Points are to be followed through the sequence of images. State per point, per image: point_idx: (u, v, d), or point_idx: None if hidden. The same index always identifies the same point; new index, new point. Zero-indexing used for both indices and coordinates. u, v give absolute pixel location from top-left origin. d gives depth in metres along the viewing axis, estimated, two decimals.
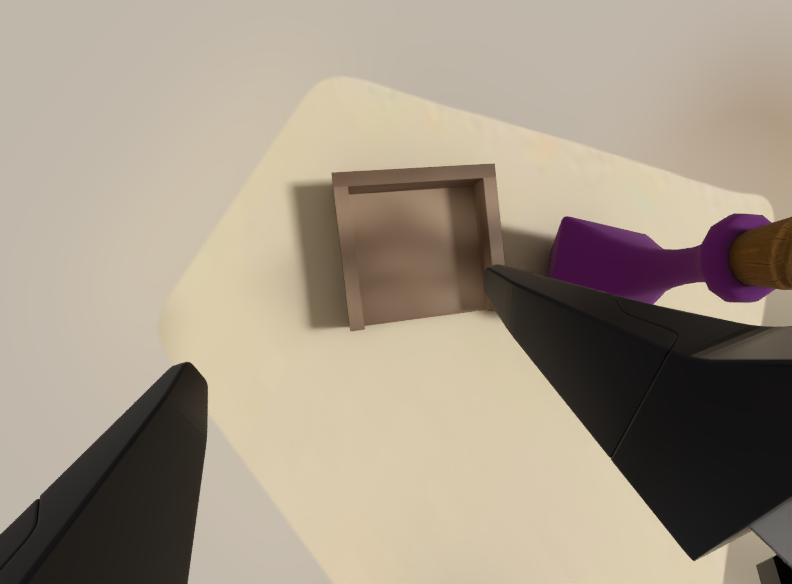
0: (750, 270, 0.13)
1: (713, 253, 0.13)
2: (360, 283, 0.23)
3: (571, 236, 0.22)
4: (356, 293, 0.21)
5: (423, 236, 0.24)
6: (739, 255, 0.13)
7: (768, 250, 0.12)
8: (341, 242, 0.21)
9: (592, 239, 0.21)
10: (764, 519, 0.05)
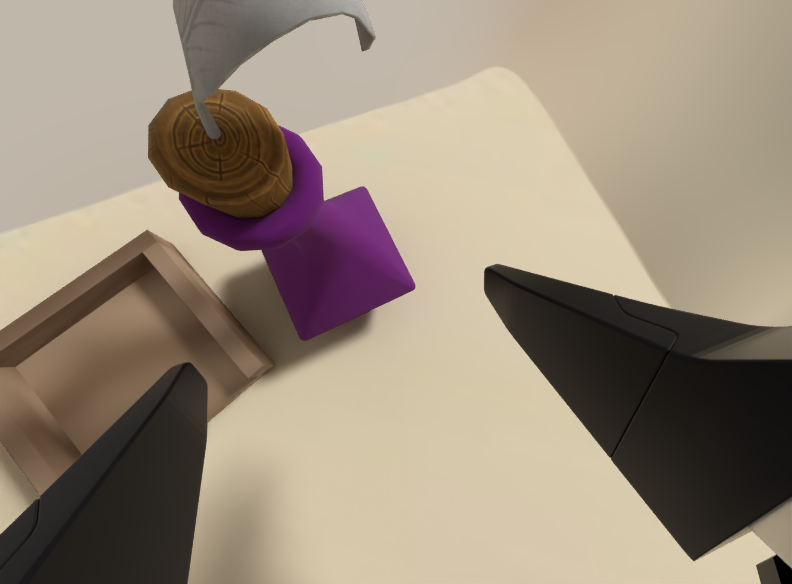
0: None
1: (186, 209, 0.08)
2: None
3: None
4: (51, 481, 0.16)
5: (134, 349, 0.19)
6: None
7: None
8: None
9: None
10: (764, 519, 0.05)
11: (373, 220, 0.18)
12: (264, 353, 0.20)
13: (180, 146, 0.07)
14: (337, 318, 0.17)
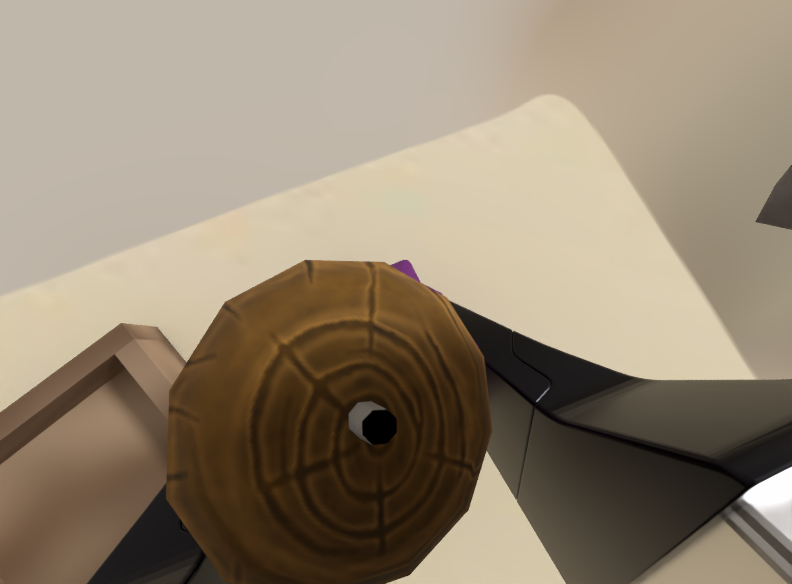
0: None
1: None
2: None
3: None
4: None
5: (106, 475, 0.15)
6: None
7: None
8: None
9: None
10: None
11: None
12: None
13: (274, 479, 0.02)
14: None
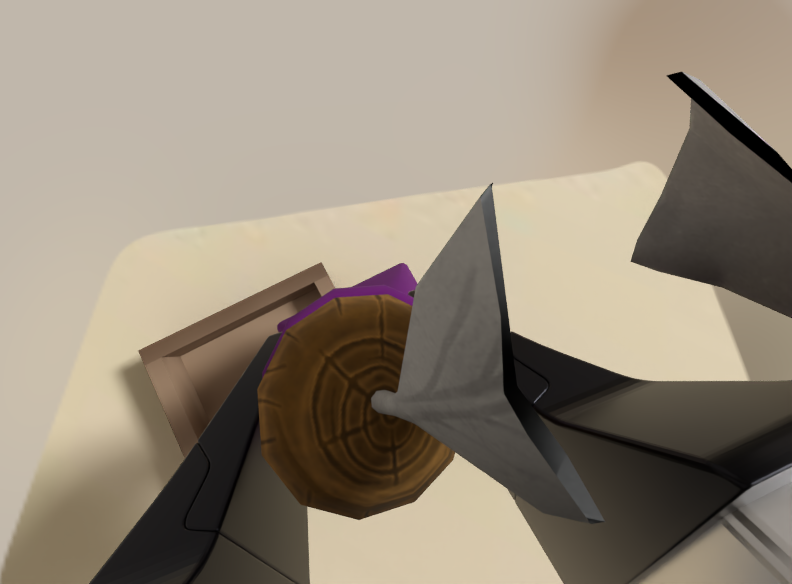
0: None
1: None
2: None
3: None
4: None
5: None
6: None
7: None
8: (172, 423, 0.18)
9: None
10: None
11: None
12: None
13: (327, 439, 0.04)
14: None
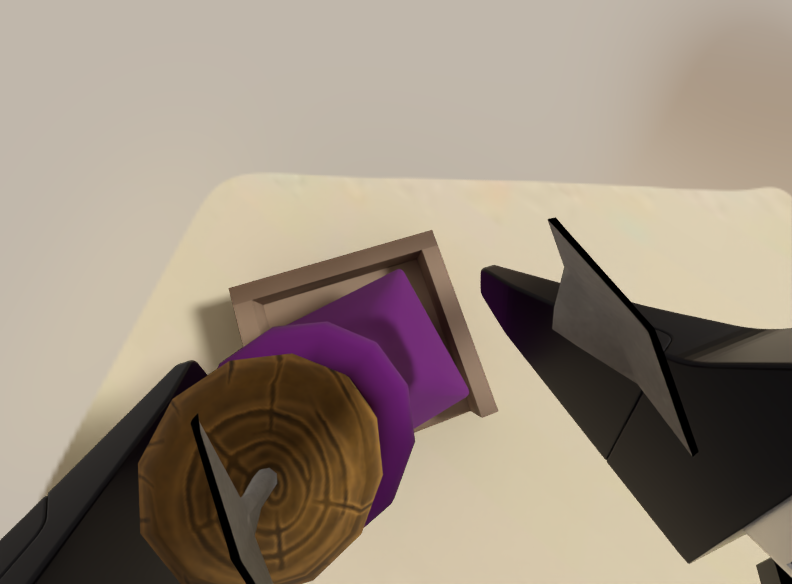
0: None
1: None
2: None
3: None
4: None
5: None
6: None
7: None
8: None
9: None
10: (758, 522, 0.05)
11: (419, 321, 0.15)
12: None
13: (201, 523, 0.03)
14: None
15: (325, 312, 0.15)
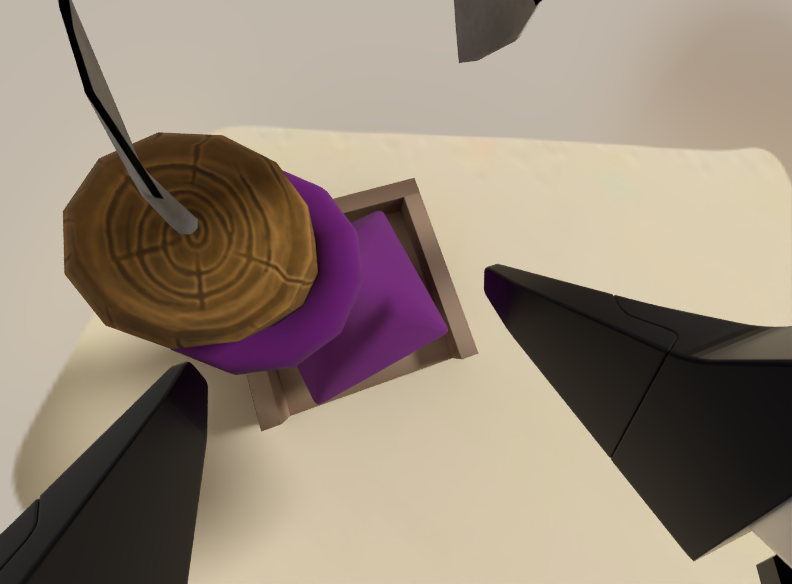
0: None
1: None
2: None
3: None
4: (262, 376, 0.16)
5: None
6: None
7: None
8: None
9: None
10: (764, 519, 0.05)
11: (397, 255, 0.15)
12: None
13: (120, 254, 0.04)
14: (358, 377, 0.14)
15: None
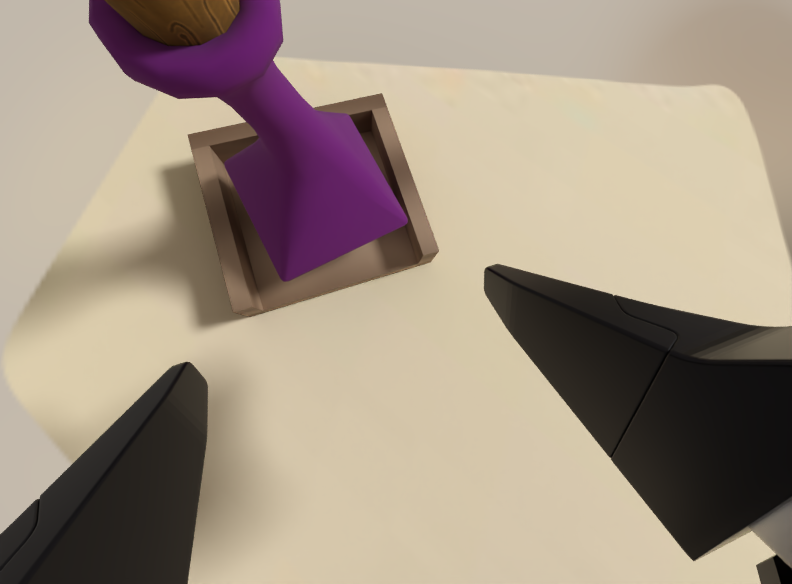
0: (119, 6, 0.06)
1: (100, 36, 0.06)
2: (252, 260, 0.19)
3: (236, 177, 0.16)
4: (235, 264, 0.17)
5: None
6: None
7: None
8: (208, 208, 0.17)
9: (243, 163, 0.15)
10: (764, 519, 0.05)
11: (357, 144, 0.16)
12: None
13: None
14: (320, 254, 0.15)
15: None
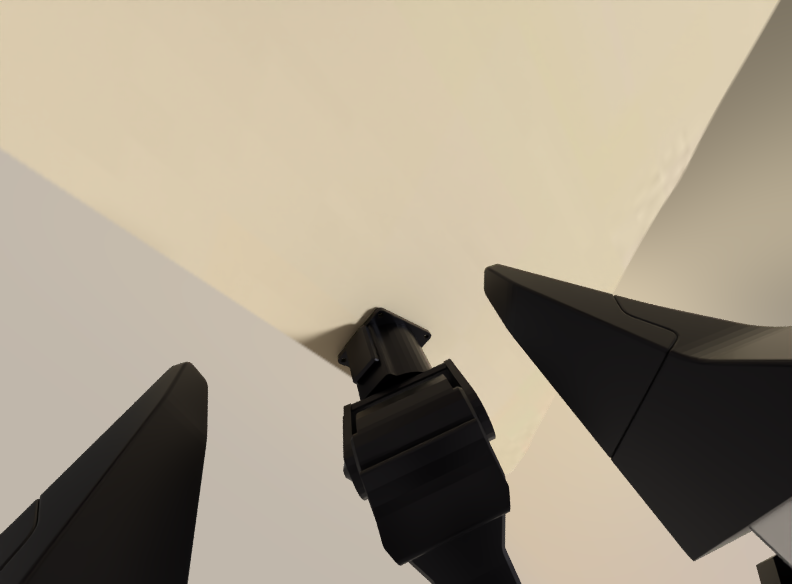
0: None
1: None
2: None
3: None
4: None
5: None
6: None
7: None
8: None
9: None
10: (764, 519, 0.05)
11: None
12: None
13: None
14: None
15: None
